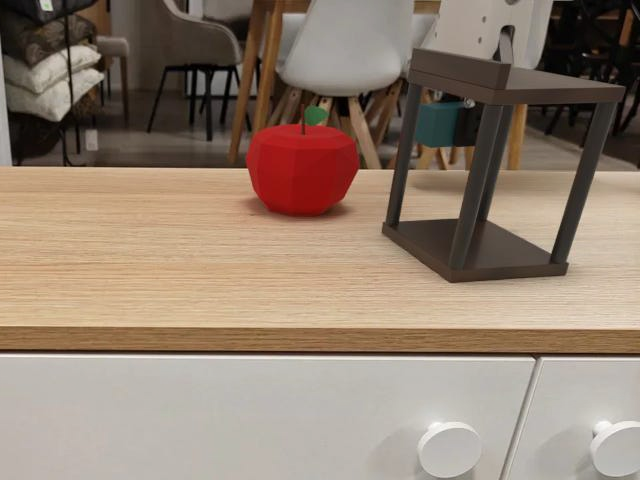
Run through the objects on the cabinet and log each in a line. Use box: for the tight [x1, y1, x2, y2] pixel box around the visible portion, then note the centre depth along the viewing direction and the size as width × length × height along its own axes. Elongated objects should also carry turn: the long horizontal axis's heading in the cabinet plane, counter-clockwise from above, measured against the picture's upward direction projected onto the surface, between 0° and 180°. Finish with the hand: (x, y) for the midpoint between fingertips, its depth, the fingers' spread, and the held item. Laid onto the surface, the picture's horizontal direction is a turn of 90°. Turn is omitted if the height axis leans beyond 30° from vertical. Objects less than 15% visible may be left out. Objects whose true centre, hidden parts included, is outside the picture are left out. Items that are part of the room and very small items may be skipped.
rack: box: [380, 47, 627, 283], centre depth 54 cm, size 10×12×16 cm
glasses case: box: [414, 101, 465, 149], centre depth 73 cm, size 8×4×4 cm, turn 100°
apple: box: [245, 103, 360, 217], centre depth 67 cm, size 11×11×10 cm
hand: (456, 140), depth 74 cm, fingers closed on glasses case, 3 cm apart
